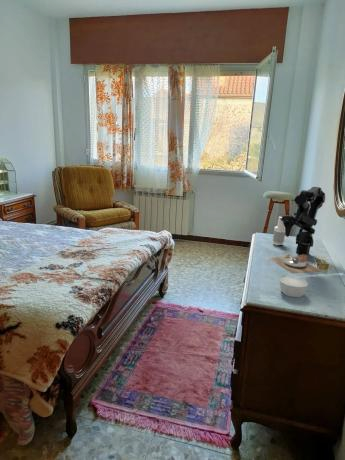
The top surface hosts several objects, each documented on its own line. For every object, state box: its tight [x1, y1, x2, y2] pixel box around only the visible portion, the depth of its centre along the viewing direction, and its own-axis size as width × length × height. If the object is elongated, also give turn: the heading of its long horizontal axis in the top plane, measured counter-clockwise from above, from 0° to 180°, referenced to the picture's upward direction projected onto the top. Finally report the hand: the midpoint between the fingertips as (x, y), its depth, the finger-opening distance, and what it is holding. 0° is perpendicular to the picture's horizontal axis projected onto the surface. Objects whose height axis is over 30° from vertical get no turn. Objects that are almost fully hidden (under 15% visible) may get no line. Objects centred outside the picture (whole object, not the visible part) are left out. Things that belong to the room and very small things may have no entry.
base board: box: [269, 256, 324, 274], centre depth 169 cm, size 18×22×1 cm
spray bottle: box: [272, 216, 286, 246], centre depth 203 cm, size 7×7×18 cm
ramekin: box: [279, 276, 309, 298], centre depth 138 cm, size 11×11×5 cm
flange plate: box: [284, 254, 308, 268], centre depth 169 cm, size 14×11×4 cm
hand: (293, 240), depth 165 cm, fingers open, 9 cm apart
